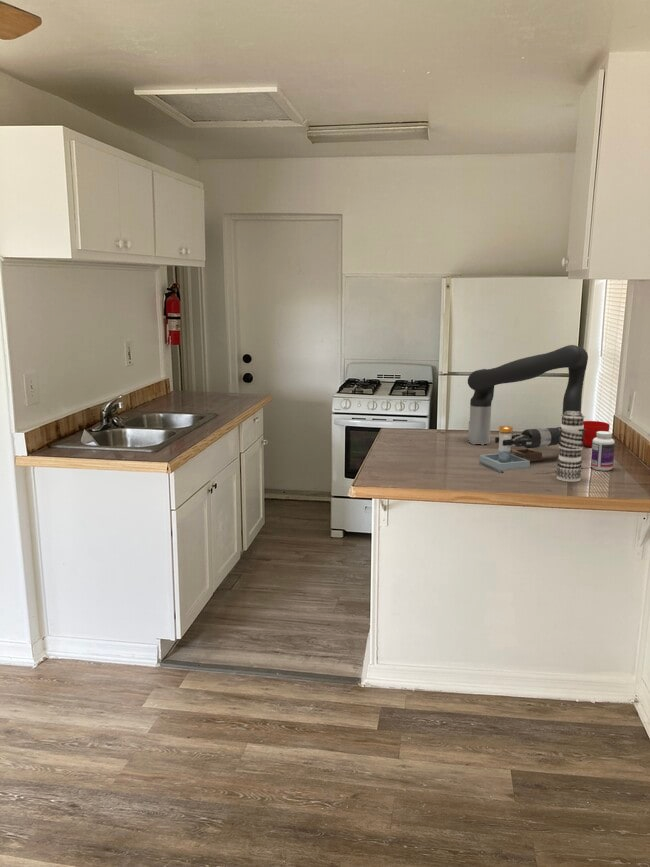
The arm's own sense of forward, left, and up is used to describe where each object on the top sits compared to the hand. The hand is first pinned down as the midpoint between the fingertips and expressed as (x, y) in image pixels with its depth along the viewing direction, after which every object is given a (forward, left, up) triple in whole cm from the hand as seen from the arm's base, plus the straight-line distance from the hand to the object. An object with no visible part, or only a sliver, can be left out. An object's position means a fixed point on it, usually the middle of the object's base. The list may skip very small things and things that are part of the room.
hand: (499, 441), depth 277 cm
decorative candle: (+23, +15, -11) cm, 29 cm away
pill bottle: (+16, +36, -11) cm, 41 cm away
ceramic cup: (-17, +58, -11) cm, 61 cm away
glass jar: (0, +3, -8) cm, 9 cm away
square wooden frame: (-5, +16, -10) cm, 20 cm away
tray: (0, +3, -10) cm, 11 cm away
